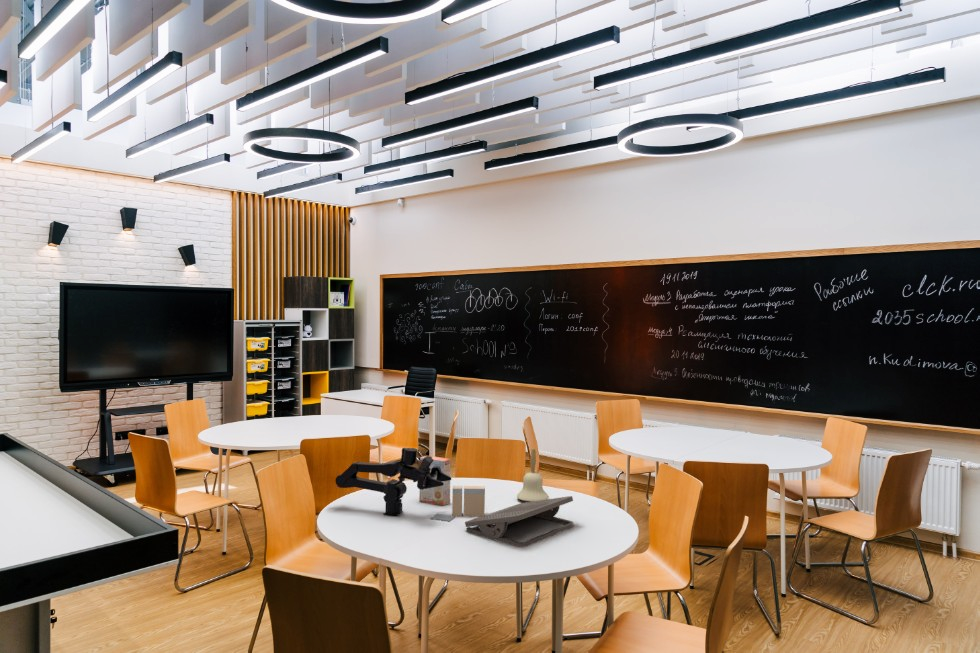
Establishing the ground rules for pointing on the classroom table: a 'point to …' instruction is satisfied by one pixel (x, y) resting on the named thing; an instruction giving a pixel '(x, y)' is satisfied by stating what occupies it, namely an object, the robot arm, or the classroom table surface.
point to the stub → (457, 501)
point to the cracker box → (439, 493)
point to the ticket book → (474, 500)
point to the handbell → (532, 484)
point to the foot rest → (519, 512)
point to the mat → (443, 517)
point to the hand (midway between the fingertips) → (447, 481)
